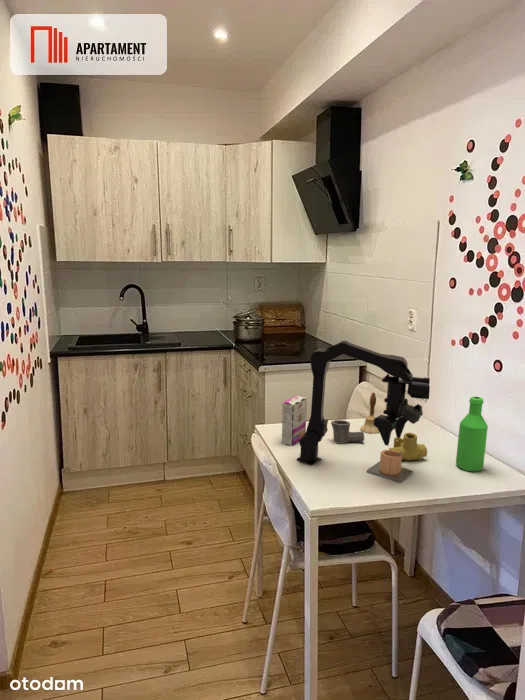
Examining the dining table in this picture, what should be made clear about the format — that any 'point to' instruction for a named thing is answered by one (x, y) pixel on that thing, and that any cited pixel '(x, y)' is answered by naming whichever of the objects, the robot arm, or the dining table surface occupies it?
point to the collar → (390, 462)
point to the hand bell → (370, 418)
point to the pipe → (345, 432)
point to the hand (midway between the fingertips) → (392, 441)
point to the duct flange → (397, 477)
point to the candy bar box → (293, 420)
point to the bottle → (472, 438)
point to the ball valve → (409, 447)
